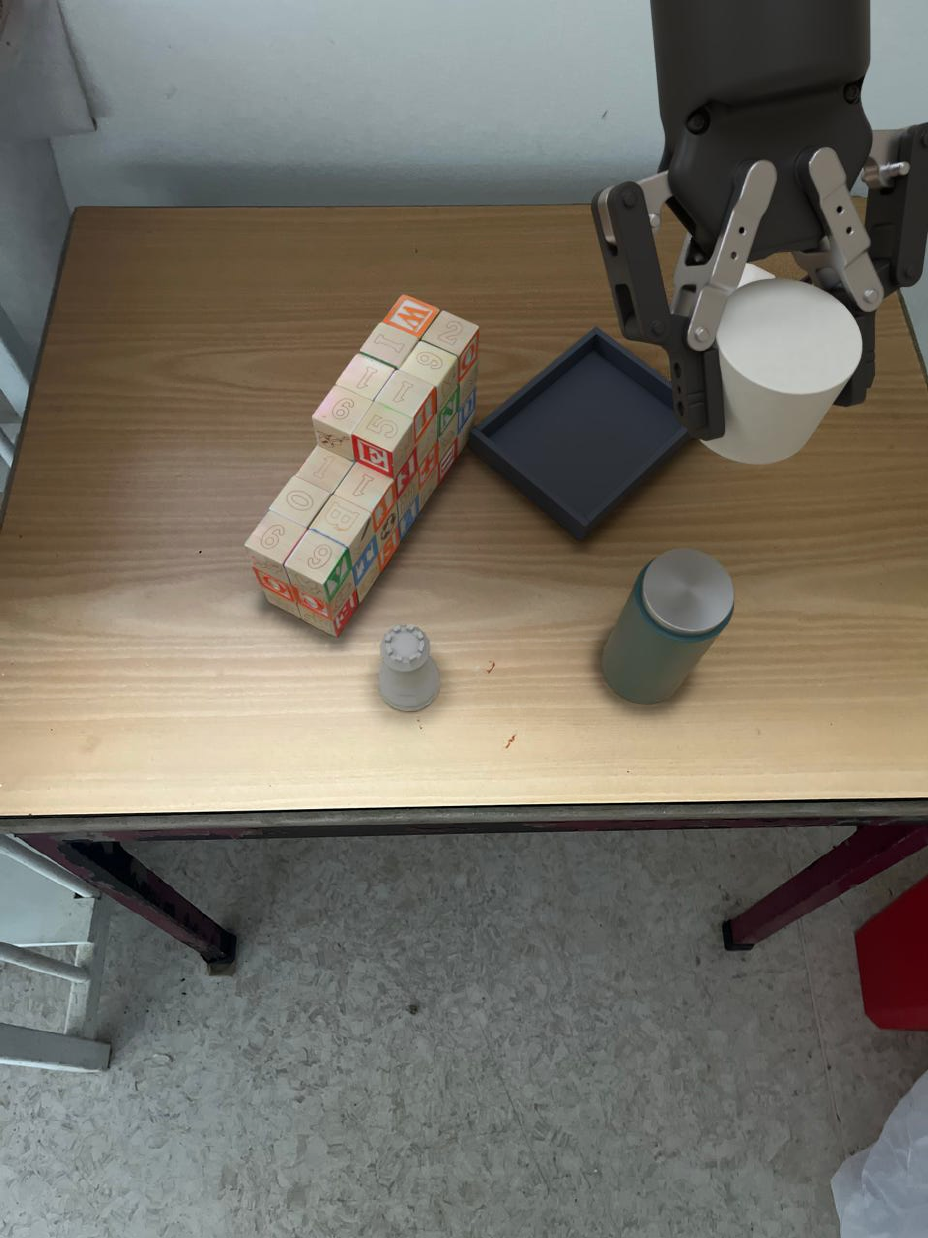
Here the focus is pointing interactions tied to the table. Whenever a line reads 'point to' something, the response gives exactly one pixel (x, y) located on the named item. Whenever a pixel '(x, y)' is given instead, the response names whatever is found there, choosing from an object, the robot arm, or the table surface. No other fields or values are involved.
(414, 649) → the rook chess piece
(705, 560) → the green metal cylinder
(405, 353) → the stack of blocks
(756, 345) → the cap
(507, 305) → the table surface
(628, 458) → the tray
